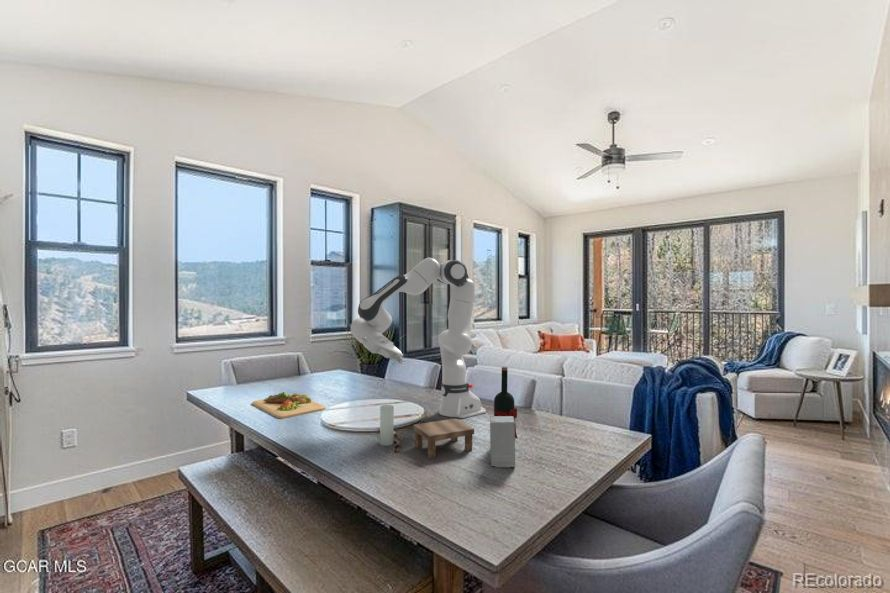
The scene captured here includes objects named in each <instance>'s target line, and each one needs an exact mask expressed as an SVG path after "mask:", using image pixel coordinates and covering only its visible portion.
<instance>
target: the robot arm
mask: <svg viewBox="0 0 890 593" xmlns="http://www.w3.org/2000/svg"><path fill="white" fill-rule="evenodd" d="M467 269H468V268H467V266H466V264H465V263H463V262H462V261H461V260H458V259H449V260H445V261H441V262H438V261H437V260H436V258H432V257H426V258H424V259H423V260H421V261H420V262H419V263H418V264H416V265H415V266H414V267H413V268H412V269H411V270H409V271H408V272H407V273H405V274H403V275H402V274H400V275H397V276H395V277H393V278H392V279H391V280H390V281H388V282H387V283H386V284H384V285H383V286H382V287H380V288H379V289H378V290H376V291H375V292H374V293H372V294H370V295H369V296H366V297H365V298H363V299H362V300H361V301H360V302H359V304H358V307H357V313H358V316H359V317H358V318H354V320H353V321H352V322H351V324H350V333H351V335H352V336H353V338H355V339H356V340H357V341H358V342H359V343H360V344H362V345H363V347H365V348H366V349H367V350H368V352H370V353H372V354H378V355H380V356H382V357H384V358H385V359H391V360H393V361H396V362H398V363H399V364H403V363H404V359H403V358H404V354H403V353H402V351H401V350H400V349H399V348H398V347H396V345H395V344H394V342H393V341H392V340H391V339H388V338H387V337H386V336H385V335H383V334H384V333H385V332H386V331H387V330H388V329H390V327H391V325H392V323H393V317H392V315H391V314H390V313H389V312H388V310H386V309H385V308H384V306H383V304H384V303H385V302H386V301H388V300H390V298H392V297H393V296H394V295H395V294H398V293H401V292H402V293H406V294H408V295H411V296H419V295H421V294H423V293H424V292H425V291H426V290H427V289H429V287H430V286H431V285H432V284H433V282H436V281H437V282H439V283H441V284H445V285H450V288H451V295H450V300H449V306H448V311H447V321H448V322H447V323H448V325H447V326H448V328H447V329H445V330H443V331H441V332H440V334H439V335H438V341H437V342H438V344H439V350H440V357H441V358H440V359H441V366H442V367H441V368H442V373H441V374H442V375H441V376H442V378H441V379H442V382H441V388H440V389H441V390H440V391H441V392H440V393H441V400H440V406H439V410H438V414H439V415H441V416H445V417H448V418H449V417H450V418H460V419H465V418H470V417H473V416H479V415H481V414H486V412H487V411H486V408H484V407H483V406H482V403H481V399H480V398H479V397H478V396H477V395H475V394H474V393H473V391H471V390H470V389H473V388H474V385H473V384H472V383H467V381H466V380H467V366H466V363H465V359H464V356H465V355H467V354H468V353H470V351H471V349H472V347H473V342H472V338H471V334H472V332H471V331H472V330H471V326H472V325H471V321H472V320H471V319H472V313H473V309H474V303H475V296H476V284H475V282H474V281H473V280H472V279H471V278H469V274H468V270H467Z"/></svg>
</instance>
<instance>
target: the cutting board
mask: <svg viewBox="0 0 890 593" xmlns="http://www.w3.org/2000/svg"><path fill="white" fill-rule="evenodd" d="M251 404H252V406H254V407H257V408H258V409H259V410H262V411H264V412H265V413H267V414H269V415H271V416H273V417H275V418H277V419H281V420H282V419H283V420H284V419H289V418H293V417H298V416H304V415H308V414H313V413H318V412H322V411H326V409H327V408H326V405H323V404H321V403H318V402H316V401H314V400H312V399H311V398H310V397H309V396H308V395H307V394H305V393H304V394H299V393H295V392H294V393H293V394H286V391H281V392H279V393H278V394H273V395H271V394H270V395H269V396H268V397H265V398H264V399H258V400H253V401H252V402H251Z"/></svg>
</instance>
